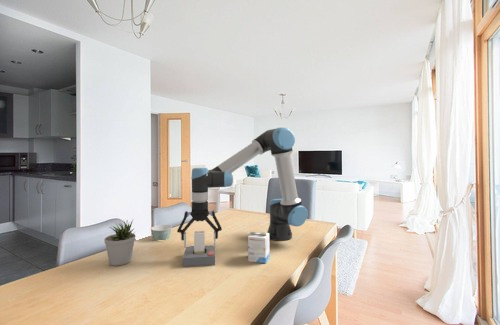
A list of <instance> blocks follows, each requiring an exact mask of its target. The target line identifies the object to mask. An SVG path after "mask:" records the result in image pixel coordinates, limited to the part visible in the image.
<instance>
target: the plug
mask: <svg viewBox="0 0 500 325" xmlns="http://www.w3.org/2000/svg"><path fill="white" fill-rule="evenodd" d="M205 234H206V233H205V230H197V231H194V234H193V235H194V236H193V241H194V242H193V246H194V254H204V253H205V246H206V245H205V243H206V242H205V237H206V236H205Z"/></svg>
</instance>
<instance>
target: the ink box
mask: <svg viewBox="0 0 500 325" xmlns="http://www.w3.org/2000/svg"><path fill="white" fill-rule="evenodd" d="M249 233H250V234H249V235H248V236H247V261H248V262H250V263H251V262H252V263H259V264H267V263H268V260H269V259H270V257H271V256H270V254H271V252H270V246H271V245H270V239H269V233H267V232H264V231H263V232H262V231H249Z"/></svg>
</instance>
